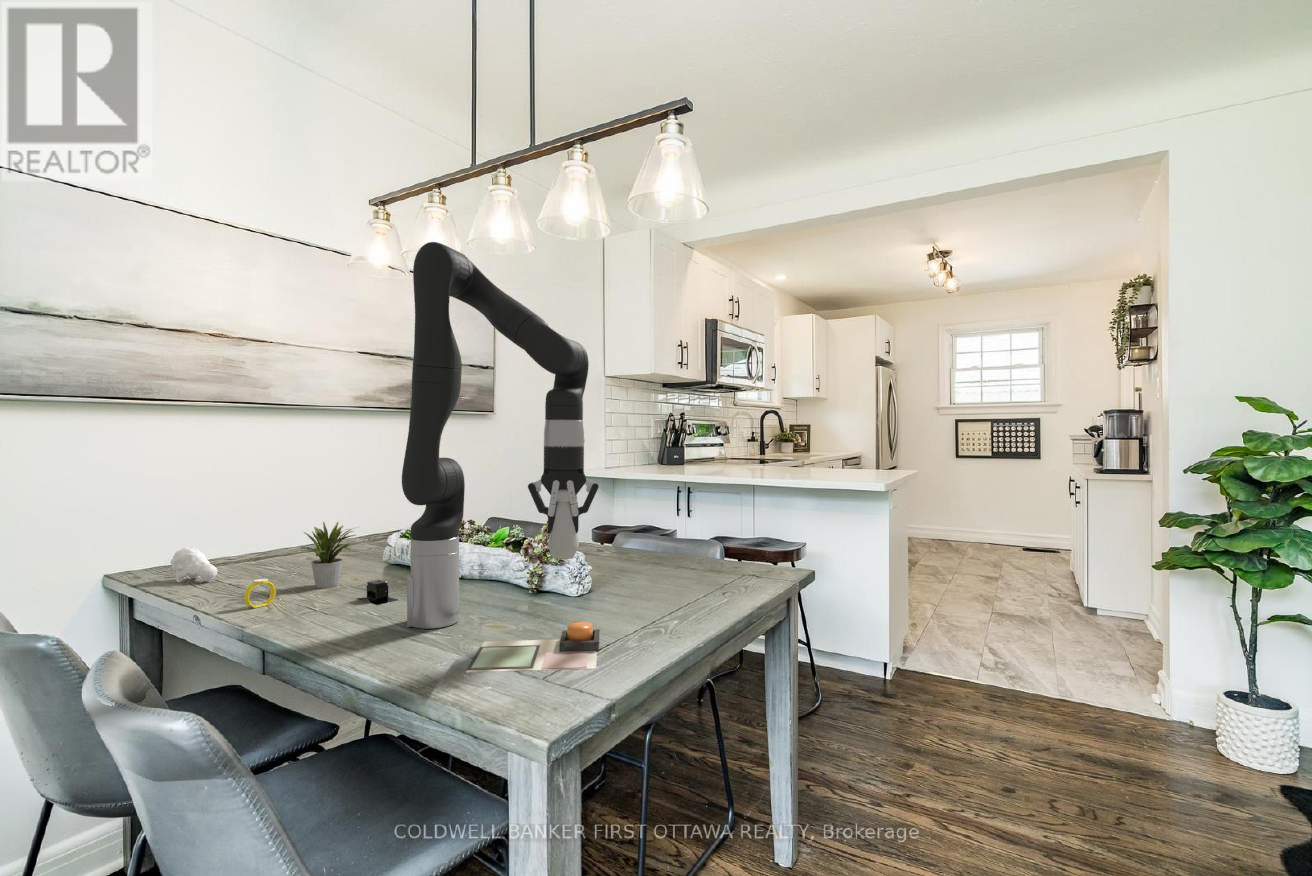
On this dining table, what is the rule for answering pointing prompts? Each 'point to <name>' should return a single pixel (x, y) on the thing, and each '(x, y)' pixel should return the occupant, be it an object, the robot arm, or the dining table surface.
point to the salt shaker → (563, 529)
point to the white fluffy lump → (192, 565)
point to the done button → (580, 631)
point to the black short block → (377, 593)
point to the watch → (255, 582)
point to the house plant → (327, 556)
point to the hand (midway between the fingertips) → (563, 535)
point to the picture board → (536, 655)
